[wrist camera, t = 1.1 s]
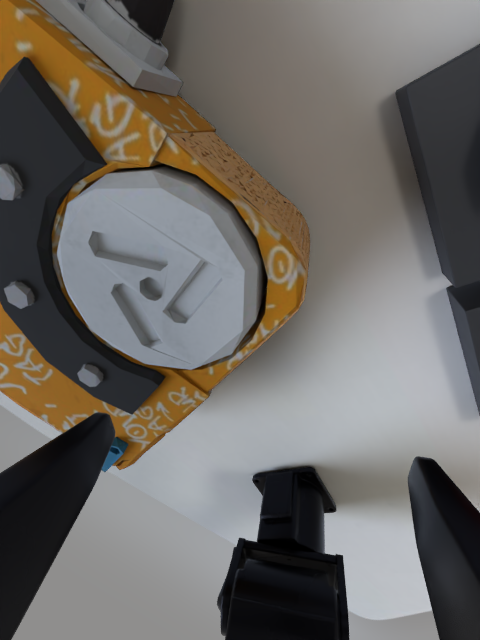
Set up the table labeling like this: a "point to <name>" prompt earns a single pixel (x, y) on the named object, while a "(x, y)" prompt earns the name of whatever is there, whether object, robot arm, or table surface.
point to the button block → (448, 159)
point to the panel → (468, 328)
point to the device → (126, 228)
